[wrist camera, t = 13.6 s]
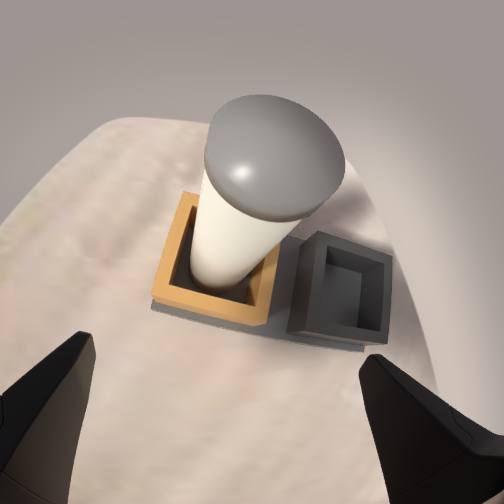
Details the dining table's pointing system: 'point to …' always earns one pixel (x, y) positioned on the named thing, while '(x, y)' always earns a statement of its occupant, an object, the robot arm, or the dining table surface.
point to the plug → (258, 184)
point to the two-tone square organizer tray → (284, 289)
